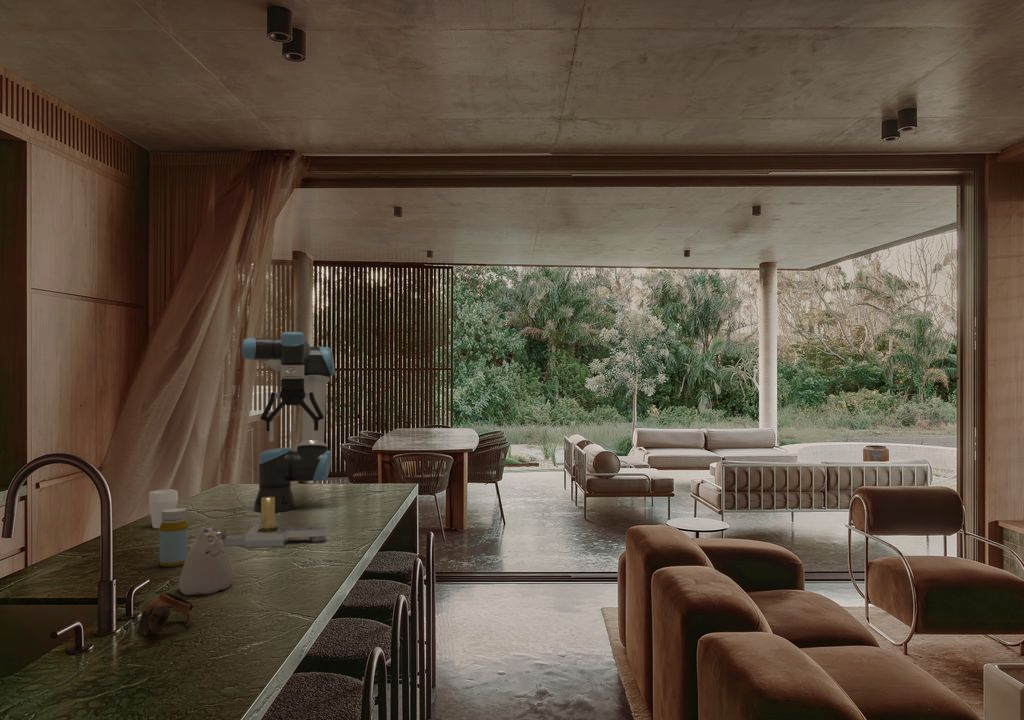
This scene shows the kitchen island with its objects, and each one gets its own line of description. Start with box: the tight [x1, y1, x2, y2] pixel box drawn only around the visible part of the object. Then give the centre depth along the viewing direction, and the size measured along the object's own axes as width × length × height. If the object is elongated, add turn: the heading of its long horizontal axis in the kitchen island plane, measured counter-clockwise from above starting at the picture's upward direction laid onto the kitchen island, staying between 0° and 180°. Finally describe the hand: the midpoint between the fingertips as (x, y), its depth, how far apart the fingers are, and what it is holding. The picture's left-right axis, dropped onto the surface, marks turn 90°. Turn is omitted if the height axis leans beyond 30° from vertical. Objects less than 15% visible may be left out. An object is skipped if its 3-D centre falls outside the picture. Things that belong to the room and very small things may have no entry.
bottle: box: [158, 507, 189, 568], centre depth 190 cm, size 7×7×15 cm
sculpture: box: [178, 526, 233, 596], centre depth 170 cm, size 13×12×15 cm
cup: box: [148, 488, 179, 530], centre depth 236 cm, size 9×9×12 cm
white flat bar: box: [215, 524, 328, 549], centre depth 214 cm, size 11×35×4 cm, turn 99°
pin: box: [260, 496, 276, 532], centre depth 214 cm, size 4×4×14 cm
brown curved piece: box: [137, 591, 194, 637], centre depth 142 cm, size 12×10×8 cm
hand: (292, 440), depth 231 cm, fingers open, 13 cm apart
